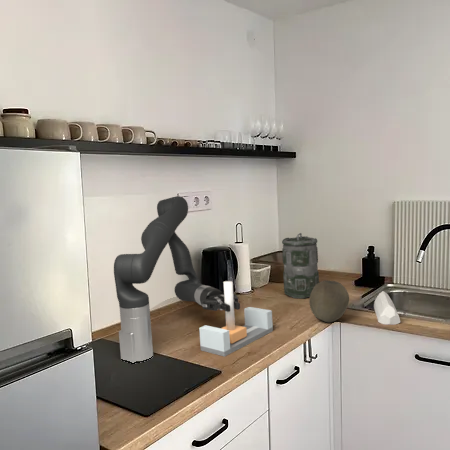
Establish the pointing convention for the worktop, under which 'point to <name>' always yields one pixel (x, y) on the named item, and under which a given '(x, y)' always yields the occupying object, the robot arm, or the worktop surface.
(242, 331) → the carriage
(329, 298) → the cantaloupe
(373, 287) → the worktop surface
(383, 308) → the crystal
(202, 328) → the rail track
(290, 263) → the canister
